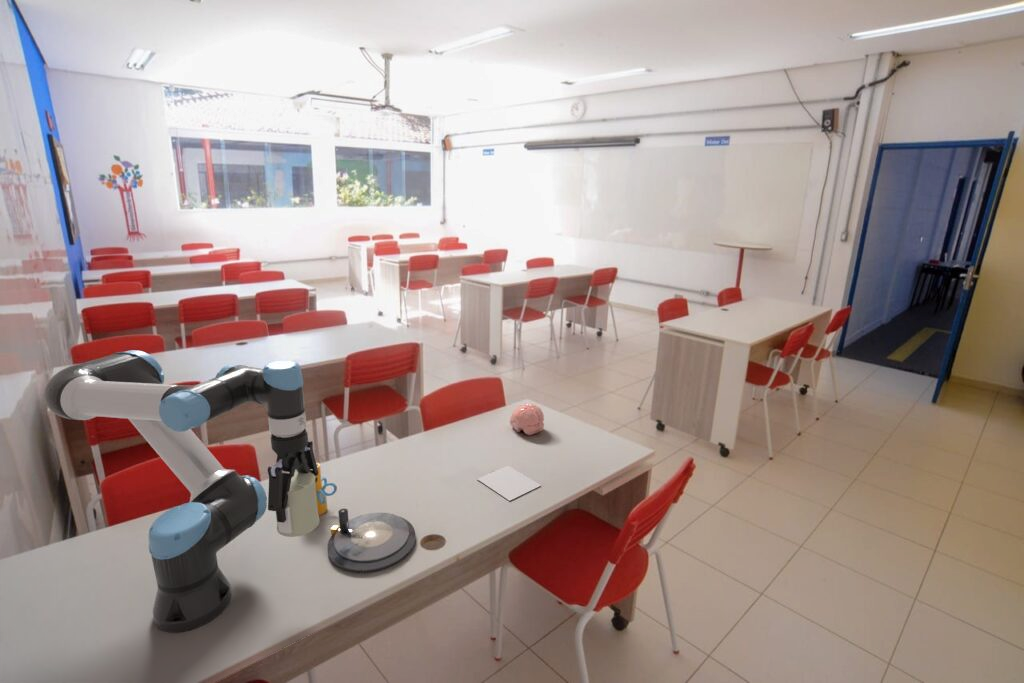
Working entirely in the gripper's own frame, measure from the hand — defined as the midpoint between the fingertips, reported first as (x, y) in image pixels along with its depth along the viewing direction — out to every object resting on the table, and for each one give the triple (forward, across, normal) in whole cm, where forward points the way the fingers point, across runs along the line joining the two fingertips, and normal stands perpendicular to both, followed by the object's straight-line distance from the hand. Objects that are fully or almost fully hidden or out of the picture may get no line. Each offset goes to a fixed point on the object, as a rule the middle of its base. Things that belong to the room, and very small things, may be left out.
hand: (297, 519), depth 119 cm
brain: (+19, +97, -40) cm, 107 cm away
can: (+2, 0, 0) cm, 2 cm away
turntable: (+17, +18, -9) cm, 26 cm away
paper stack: (+19, +54, -34) cm, 67 cm away
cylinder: (+19, +29, +13) cm, 37 cm away
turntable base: (+19, +18, -9) cm, 27 cm away
